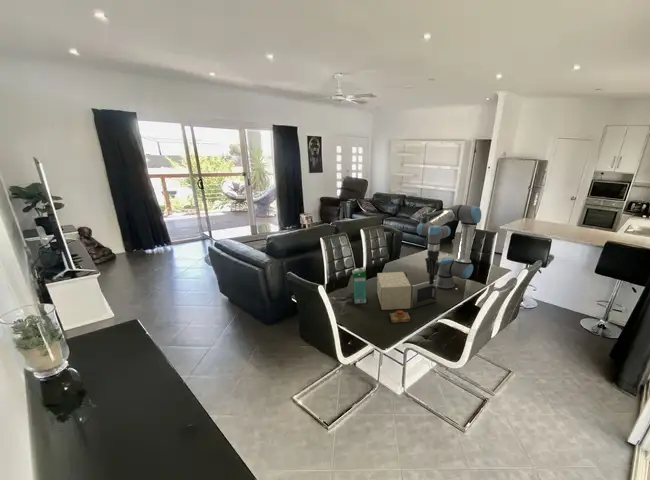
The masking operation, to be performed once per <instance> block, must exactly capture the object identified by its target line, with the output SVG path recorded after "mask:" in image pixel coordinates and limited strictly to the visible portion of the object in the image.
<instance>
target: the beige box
mask: <svg viewBox="0 0 650 480" xmlns="http://www.w3.org/2000/svg"><path fill="white" fill-rule="evenodd" d="M376 279H377V280H376V287H377V288H376V290H377V291H376V292H377V298H378V300H379V304H380V309H381V311H387V310H388V311H389V310H404V309H405V310H406V309H407V310H408V309H411V300H412V285H411V283H410V281H409V277H408V274H407V272H406V271H392V272H391V271H389V272H377V274H376Z"/></svg>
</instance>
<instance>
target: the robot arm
mask: <svg viewBox="0 0 650 480" xmlns="http://www.w3.org/2000/svg"><path fill="white" fill-rule="evenodd" d="M481 220H482V210H481V207H479V206H477V205H466V204H455V205H452V206H450V207H448V208H445V210H444V211H443V212H442V213H441V214H439V215H437V216H436V217H434V218H432V219H430V220H429V221H427V222H426V223H418V224H417V225H416V226H417V227H416V233H417V234H418V235H421V236H427V250H426V251H427V252H426V253H427V254H426V255H427V257H425V258H424V260H425V266H426V273H427V274H428V281H429V284H430V285H431V284H434V280H435V276H437V277H436V280H437V283H436V287H437V289H440V290H441V289H443V290H452V289H454V287H455V286H458V287H459V286H460V285H459V284H458V283H455V280H454V277H457V278H460V279H464V280H465V279H466V280H467V279H469V278H470V277H471V275H472V273H473V271H474V264H473V263H472V260H471V252H472V245H473V240H474V239H473V238H474V231H475V228H476V227H477V226H478V224H479V223H480V222H481ZM453 221H459V222H460V225H461V226H462V227H461V233H460V241H459V247H458V255H457V258H456V259H455V258H454V257H453V256H451V257H450V256H446V257H445V256H444V257H441V258H440V259H439V257H440V249H441V248H440V247H441V240H443V239H445V238H447V237H449V236H450V235H451V231H452V230H451V228H450V226H448V225H445V224H447V223H450V222H453Z"/></svg>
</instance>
